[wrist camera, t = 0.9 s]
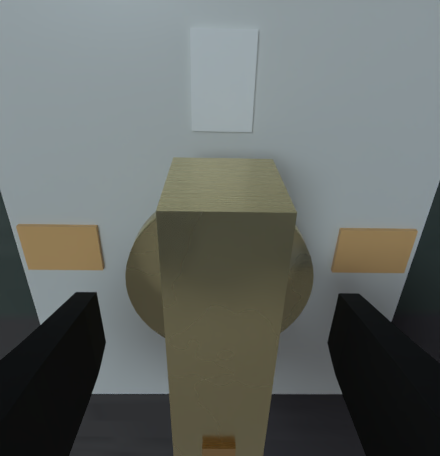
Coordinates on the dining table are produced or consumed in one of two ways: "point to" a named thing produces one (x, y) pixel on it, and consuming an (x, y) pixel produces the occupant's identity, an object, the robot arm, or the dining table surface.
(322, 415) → the dining table surface
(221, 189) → the door handle
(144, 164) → the lock plate
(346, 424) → the dining table surface
